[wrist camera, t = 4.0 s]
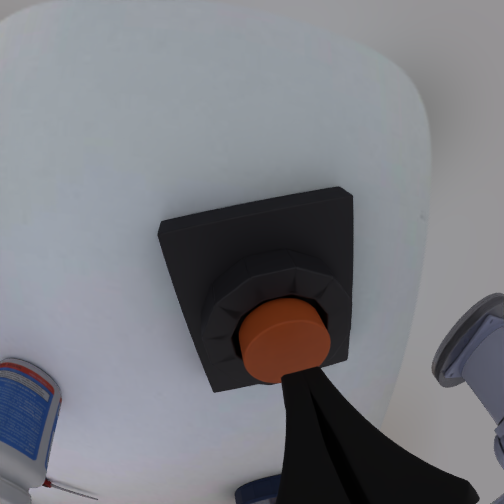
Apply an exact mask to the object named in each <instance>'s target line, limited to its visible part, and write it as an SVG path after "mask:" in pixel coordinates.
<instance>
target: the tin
mask: <svg viewBox="0 0 504 504" xmlns="http://www.w3.org/2000/svg"><path fill="white" fill-rule="evenodd" d="M280 480H281V475H276V476H271V477H267V478H263V479H259V480H256V481H253V482H250V483H248V484H245V485H243V486H241V487H240V488H238V489H237V490H236V491H235V499H236V504H242V503H244V502H246V501H249V500H252V499H255V498H259V497H262V496H266V495H270V494H275V493H278V490H279V485H280Z"/></svg>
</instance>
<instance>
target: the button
mask: <svg viewBox="0 0 504 504" xmlns="http://www.w3.org/2000/svg"><path fill="white" fill-rule="evenodd" d="M239 343H240V348H241V353H242V358H243V362H244V366H245V368H246V370H247V371H248V372H249V374H250V375H251V376H253V377H254V378H256V379H258V380H260V381H263V382H268V383H281V377H282V376H283V375H285V374H289V373H293V372H297V371H301V370H305V369H309V368H312V367H316V366H318V367H319V366H320V365H321V364H322V362H323V361H324V360H325V358H326V357H327V355H328V353H329V350H330V344H331V340H330V335H329V333H328V331H327V329H326V327H325V325H324V324H323V322H322V320H321V318H320V316H319V314H318V313H317V311H316V309H315V308H314V307H313V306H312V305H311V304H309V303H307V302H305V301H303V300H300V299H296V298H279V299H274V300H271V301H268V302H265V303H263V304H261V305H260V306H258V307H256V308H255V309H254V310H252V311H251V312H250V313H249V314H248V315H247V316H246V318H245V319H244V321H243V322H242V324H241V327H240V330H239Z"/></svg>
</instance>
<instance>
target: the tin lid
mask: <svg viewBox="0 0 504 504" xmlns="http://www.w3.org/2000/svg"><path fill="white" fill-rule="evenodd" d="M277 494H278V493H275V494H270V495H266V496H262V497H259V498H255V499H252V500H249V501H246V502H244V503H242V504H275V503H276V499H277Z"/></svg>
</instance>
